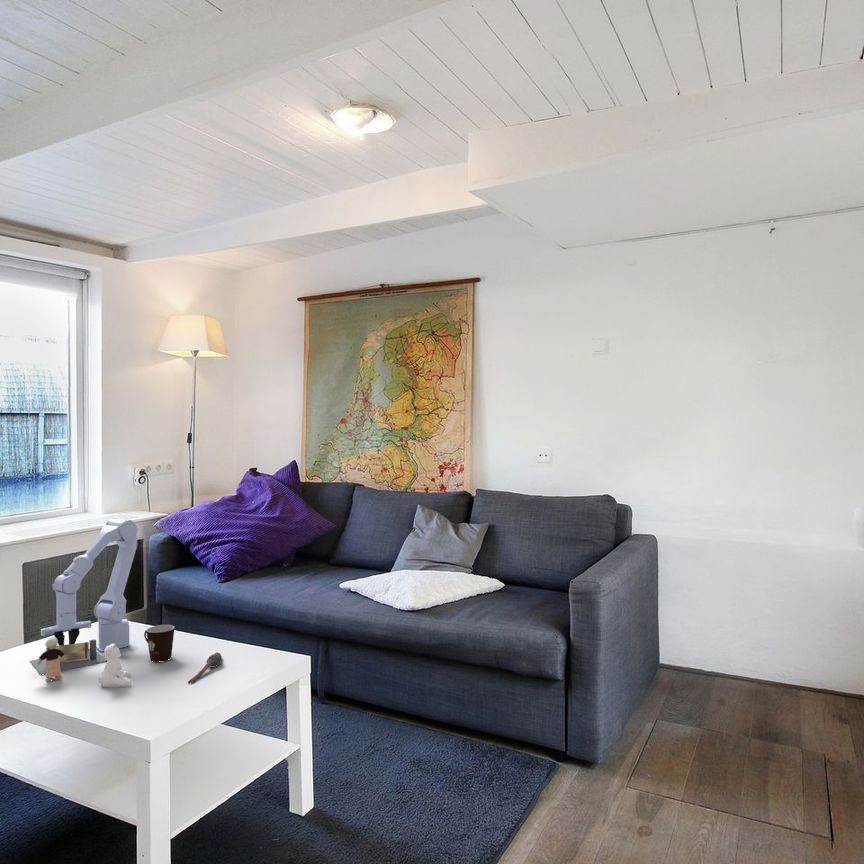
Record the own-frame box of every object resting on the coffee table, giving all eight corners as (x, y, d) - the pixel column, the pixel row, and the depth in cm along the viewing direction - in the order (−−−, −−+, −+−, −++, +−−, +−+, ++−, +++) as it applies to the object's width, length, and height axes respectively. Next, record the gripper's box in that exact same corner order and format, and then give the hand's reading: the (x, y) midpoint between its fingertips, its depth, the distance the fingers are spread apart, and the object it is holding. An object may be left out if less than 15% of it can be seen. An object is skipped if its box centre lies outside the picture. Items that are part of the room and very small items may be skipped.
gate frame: (93, 649, 234) (92, 628, 234) (107, 661, 221) (107, 639, 221) (29, 661, 222) (29, 639, 222) (41, 675, 209) (40, 652, 209)
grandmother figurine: (63, 674, 209) (63, 633, 209) (67, 677, 207) (67, 636, 207) (35, 681, 204) (35, 639, 204) (39, 684, 201) (39, 641, 201)
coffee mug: (177, 660, 222) (177, 629, 222) (149, 665, 217) (149, 634, 217) (169, 650, 231) (168, 621, 231) (142, 655, 227) (141, 625, 226)
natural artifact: (225, 663, 223) (231, 653, 223) (190, 686, 201) (197, 675, 200) (216, 655, 224) (222, 645, 223) (180, 677, 201) (188, 666, 201)
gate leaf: (88, 657, 223) (88, 641, 223) (88, 658, 222) (88, 643, 222) (46, 662, 218) (46, 646, 218) (46, 663, 217) (46, 648, 217)
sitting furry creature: (131, 687, 199) (131, 646, 199) (99, 692, 195) (98, 650, 195) (130, 676, 207) (130, 637, 207) (98, 681, 203) (98, 641, 203)
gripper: (87, 605, 230) (87, 645, 230) (38, 613, 221) (38, 655, 221) (93, 609, 225) (93, 650, 225) (43, 617, 216) (43, 660, 216)
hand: (66, 653), depth 223 cm, fingers closed
